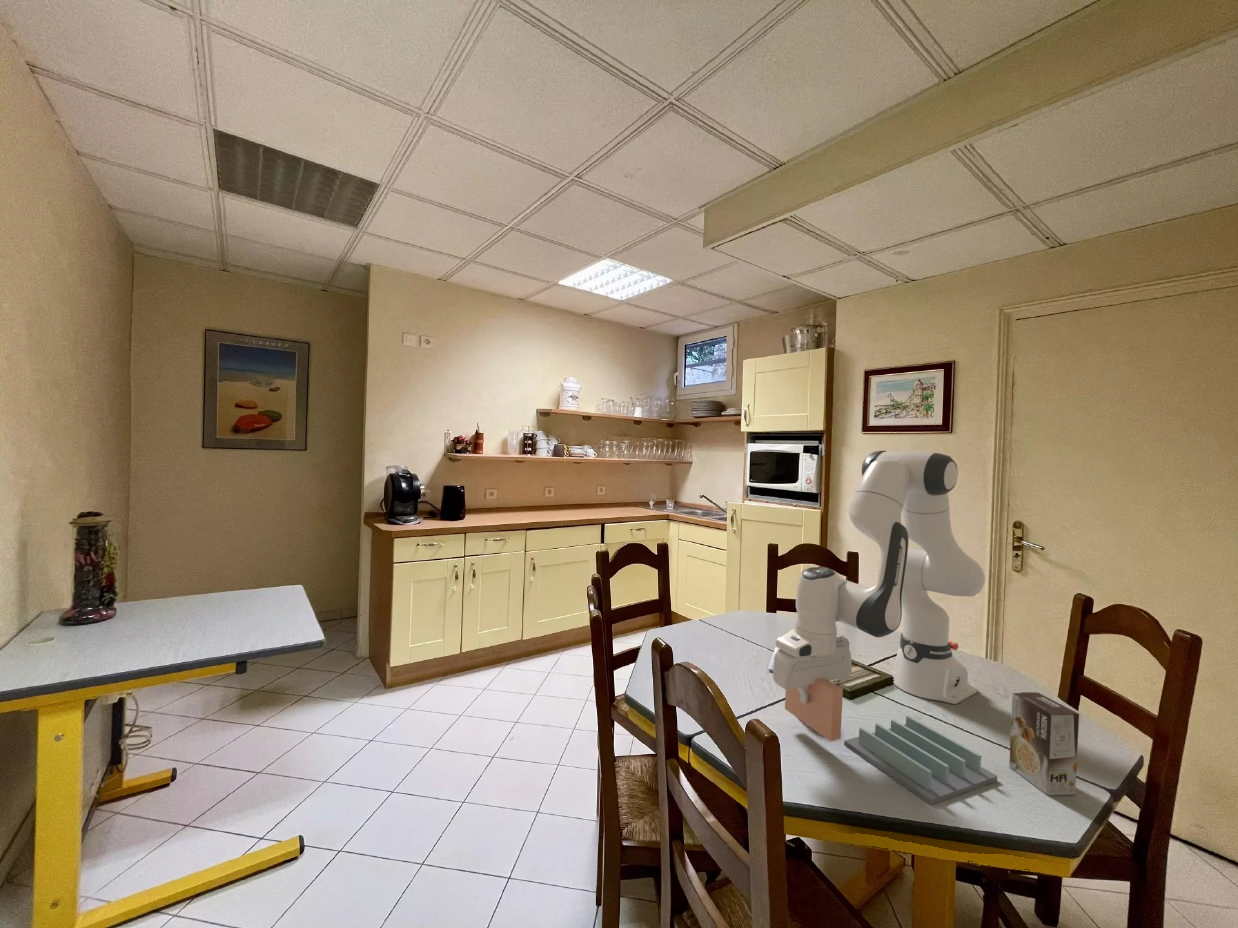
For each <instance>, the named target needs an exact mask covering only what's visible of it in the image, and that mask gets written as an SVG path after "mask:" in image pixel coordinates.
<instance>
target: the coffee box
mask: <svg viewBox="0 0 1238 928" xmlns="http://www.w3.org/2000/svg"><path fill="white" fill-rule="evenodd" d="M1011 695H1012V697H1011V717H1010V719H1011V720H1010V721H1011V722H1010V738H1009V739H1010V742H1009V743H1010V744H1009V762H1008V763H1009V764H1008V765H1009V769H1011V770H1012V771H1014V772H1015V773H1017V774H1018V775H1019V776H1021V777H1022V778H1024V779H1025V780H1027V781H1028V782H1029V783H1030V784H1032V785H1033V786H1034V787H1036V788H1037V789H1039V790H1040V791H1041V792H1043V793H1044V794H1045V795H1046V796H1074V795H1076V788H1077V786H1076V785H1077V766H1078V765H1077V764H1078V763H1077V762H1078V745H1079V724H1080V720H1079V719H1080V713H1078V712H1076V711H1074V710H1073V709H1071V708H1069V707H1067V706H1065V705H1062V704H1061V703H1059V702H1057V701H1056V700H1053V699H1052V698H1049V697H1048V696H1045V695H1044V694H1041V692H1037V691H1036V692H1035V691H1034V692H1032V691H1031V692H1029V691H1028V692H1027V691H1025V692H1012V694H1011Z"/></svg>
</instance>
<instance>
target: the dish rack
mask: <svg viewBox="0 0 1238 928" xmlns="http://www.w3.org/2000/svg"><path fill="white" fill-rule="evenodd" d="M890 720H891V721H890V728H887V727H885V726H883V725H882V724H880V723H875V727H874V728H875V729H874V732H871V731H868V730H867V729H865V728H864V727H859V728H858V736H855V737H852V738H848V739H845V740H844V741H843V744H844V746H845V747H847V748H848V749H850V750H852V751H853V752H854V753H855V754H857V755H858V756H859V757H860V758H862V759H864V760H865V761H867V762H868V763H870V764H871V765H872V766H873V767H875V768H877V770H879V771H881V772H883V773H884V774H885V775H887V776H888V777H890V778H891V779H893V780H894V781H895V782H897V783H898V784H900V785H901V786H903V787H904V788H905V789H907V790H908V791H910V792H911V793H913V794H915V795H916V796H917V797H918V798H920V799H921V800H923V801H924V802H925V803H927V804H929V805H931V806H932V805H934V804H938V803H940V802H943V801H946V800H948V799H951V798H954V797H957V796H961V795H962V794H965V793H968V792H970V791H973V790H976V789H978V788H981V787H985V786H987V785H990V784H991V783H992V784H993V783H995V782H998V775H997V774H995V773H993V772H991V771H989V770H988V769H986V768H984V767H982V766H981V764H982V755H981V754H980V753H978V752H976V751H974V750H972V749H971V748H969V747H967V746H964V745H963V744H961V743H959V742H957V741H956V740H954V739H952V738H950V737H949V736H947V735H945V734H943V733H941V732H939V731H938V730H936V729H934V728H932V727H930V726H929V725H927V724H925V723H923V722H921V721H919V720H918V719H916V718H914V717H912V716H910V715H906V719H905V724H903V723H900V722H899V721H897V720H895V719H890Z"/></svg>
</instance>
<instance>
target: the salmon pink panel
mask: <svg viewBox="0 0 1238 928" xmlns="http://www.w3.org/2000/svg"><path fill="white" fill-rule="evenodd" d="M806 692H807V694H809V695H810V696H811V699H810V703H807V704H804V703H802V702H801V701H800V693H799V691H798V689H797V688H792V689H787V690H786V689H785V693H784V694H785V695H784V696H785V698H784V699H785V700H784V710H785V711H787V712H789V713H790V714H791V715H793V716H794V717H795V718H797V719H798V720H800V721H801V722H803V723H805V725H807V726H808V727H809V728H811V729H813V730H814V731H816V733H818V734H819V735H821V736H823V737H824V738H825V739H826V740H828V741H830V742H834V741H837V740H840V739H841V735H842V717H843V716H842V715H843V693H844V688H843V687H841V686H840V685H836V684H834V683H833V682H831V681H829V680H827V679H826V678H821V679H815V682H814V684H812V685H808V689H807V690H806Z"/></svg>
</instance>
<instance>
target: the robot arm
mask: <svg viewBox="0 0 1238 928" xmlns="http://www.w3.org/2000/svg"><path fill="white" fill-rule="evenodd" d="M958 474H959V473H958V465H957V463H956V461H955V460H954V459H953V458H952V457H951V456H950V455H947V454H943V453H939V452H934V453H932V452H927V451H926V452H925V451H919V450H892V451H891V450H890V451H889V450H888V451H887V450H877V451H876V450H875V451H872V452H870V453H869V454H868V455H867V456H866V457H865V458H864V459H863V462H862V465H861V476H862V477H861V479H860V481H859V482H858V484H857V487H856V488H855V491H854V494H853V496H852V499H851V501H850V505H849V511H848V514H849V518H850V521H851V523H852V525H853V526H854V527H855V528H856V529H857V530H858V531H859V532H860V533H862V534H863V535H865V537H867V538H869V539H871V540H872V541H874V542H875V543H877V544H878V546H879V548H880V556H879V559H878V561H877V563H878V569H877V570H878V571H877V577H876V582H875V584H874V585H873V586H871V587H870V586H867V585H862V584H859V583H855V582H853V581H850V580H846V579H845V578H843V577H840V576H838V575H837V574H836V572H835V570H833V569H831V568H829V567H824V566H813V567H808V568H805V569H804V570H802V571H801V572H800V575H799V577H798V582H797V588H796V595H795V596H796V598H795V608H796V615H797V616H796V619H795V622H794V628H791V630H789V631H788V632H786V633H785V634H782V635H781V636H779V637H777V638H776V640H775V647H778V648H779V650H778V651H777V652H776V654H775V658H774V667H773V672H772V676H773V677H772V679H773V681H774V682H775V684H776V685H777V686H779V687H780V688H782V689H783V690H785V691H786V690H787V689H792V688H797V689H798V691H799V693H800V701H801V702H802V703H804V704H807V703H810V699H811V696H810V695H809V694H807V692H806V690H807V689H808V685H812V684H814V682H815V679H821V678H826V679H827V680H829V681H833V680H842V679H846V678H849V677H851V674H852V672H853V671H852V670H853V669H852V666H853V663H852V653H851V650H850V641H849V640H848V638H846V636H844V635H841V636H837V635H838V634H837V633H838V630H837V629H838V628H837V624H836V622H840V623H842V624H844V625H847V626H850V627H852V628H856V629H858V630H859V631H861V632H864V633H866V634H868V635H870V636H872V637H874V638H883V637H885V636H886V637H887V636H888V635H890V634H892V633H894V632H895V631H897V630H898V628H899V627H900V625H901V621H902V633H901V634H900V637H899V647H900V648H899V649H898V650H897V652H896V658H895V659H896V660H895V665H894V670H891V674H890V675H891V676H892V678H893V680H894V681H893V684H894V685H895V686H896V687H897V688H899V689H900V690H902V691H903V692H906V693H908V694H910V695H913V696H916V697H919V698H923V699H927V700H932V701H941V702H945V703H948V704H953V705H957V704H958V703H960V702H962V701H965V700H966V699H968V698H969V697H971V696H973V695H975V694H977V692H978V691H979V690H978V687H977V686H975V685H974V684H973V683H971V682H969V679H968V674H969V673H968V670H967V667H966V666H965V665H963V664H962V663H961V662H960V661H959V660H958V659H956V657H955V656H954V655H953V652H952V650H954V651H958V649H959V647H960V646H959V643H958V642H953V641H952V640H949V638H950V637H949V636H950V616H949V615H948V613H947V611H946V610H945V609H944V608H943V607H942V606H940V605H939V604H938V603H936V602H935V601H933V600H932V599H931V597H930V596H929V593H928V592H931V593H932V592H934V593H936V594H937V593H938V594H941V595H942V594H943V595H945V596H946V595H947V596H952V597H970V598H971V597H975V596H976V595H978V594H979V593H981V591H982V590H983V587H985V582H986V575H985V572H984V570H983V568H982V566H981V565H980V564H979V563H978V562H977V561H976V560H975V559H973V558H972V557H971V556H969V555H968V554H967V553H966V552H964V550H962V548H961V547H960V545H959V544H958V543H957V541H956V539H955V537H954V534H953V531H952V525H951V523H952V522H951V515H950V514H951V513H950V497H949V493H950V492H951V491H952V490H953V489H954V488H955V486H956V484H957V480H958V476H959V475H958ZM909 540H910V541H912V542H914V543H916V544H917V545H918V546H920V547H921V548H922V549H923V550H922V549H918V548H917V549H916V548H910V547H909Z"/></svg>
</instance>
